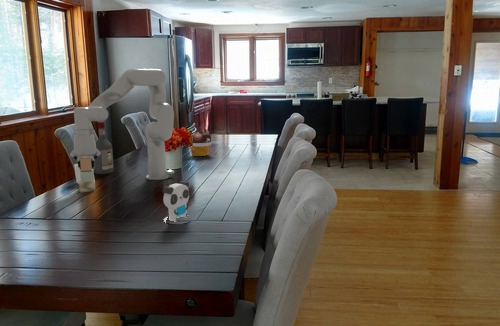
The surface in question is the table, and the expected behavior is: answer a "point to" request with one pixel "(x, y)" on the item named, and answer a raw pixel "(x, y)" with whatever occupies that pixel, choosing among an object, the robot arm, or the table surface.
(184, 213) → the panda figurine
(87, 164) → the terracotta block
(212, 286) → the table surface
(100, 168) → the liquor
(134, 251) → the table surface
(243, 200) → the table surface
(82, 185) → the beech base block
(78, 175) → the white cup
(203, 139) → the bucket of meat
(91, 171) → the sage top block
